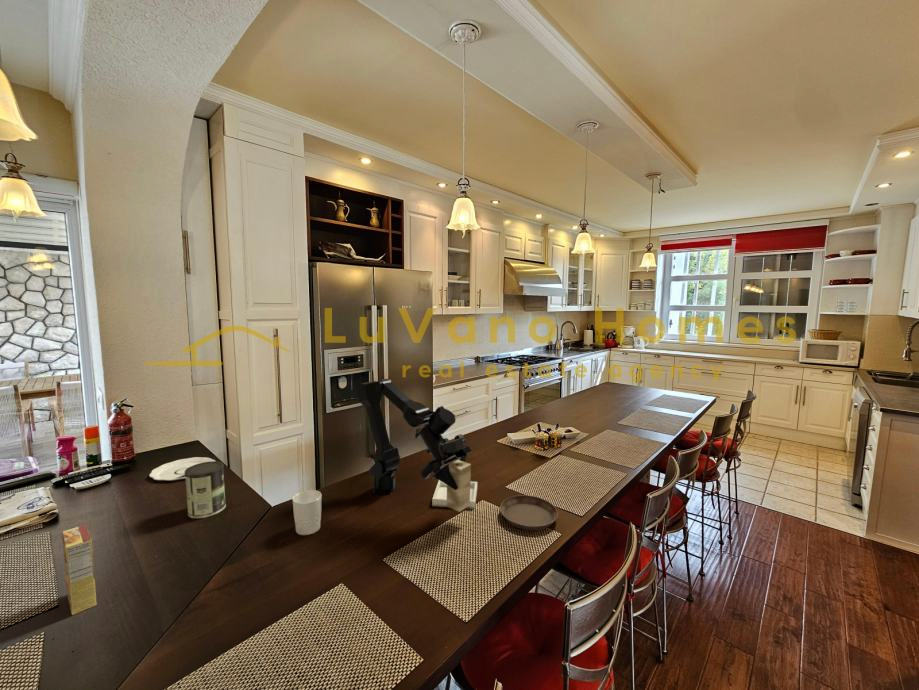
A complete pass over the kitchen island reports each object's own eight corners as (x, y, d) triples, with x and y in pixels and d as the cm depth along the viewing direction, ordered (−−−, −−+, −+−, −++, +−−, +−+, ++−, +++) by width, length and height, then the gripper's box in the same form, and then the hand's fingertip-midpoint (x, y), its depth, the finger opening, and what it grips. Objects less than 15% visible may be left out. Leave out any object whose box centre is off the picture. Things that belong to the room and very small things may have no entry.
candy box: (66, 595, 87) (60, 531, 85) (92, 585, 90) (86, 523, 88) (71, 616, 81) (64, 548, 80) (98, 604, 84) (92, 538, 83)
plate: (225, 468, 155) (225, 464, 155) (164, 489, 137) (164, 484, 137) (200, 457, 166) (200, 453, 166) (140, 474, 148) (140, 470, 148)
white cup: (328, 524, 116) (327, 492, 115) (310, 539, 109) (308, 505, 108) (306, 519, 119) (305, 488, 118) (287, 533, 111) (286, 500, 110)
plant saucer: (558, 538, 111) (559, 528, 110) (497, 530, 114) (497, 521, 114) (556, 507, 128) (556, 498, 127) (502, 501, 131) (502, 492, 131)
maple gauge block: (446, 506, 117) (447, 464, 115) (456, 500, 120) (458, 459, 119) (459, 512, 113) (460, 469, 112) (469, 505, 117) (471, 464, 116)
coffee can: (220, 498, 131) (217, 458, 129) (230, 509, 124) (227, 467, 122) (183, 510, 123) (180, 467, 122) (192, 522, 116) (189, 477, 115)
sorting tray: (432, 506, 127) (432, 498, 127) (438, 486, 141) (438, 479, 141) (474, 508, 126) (474, 501, 125) (477, 488, 139) (477, 481, 139)
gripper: (428, 436, 109) (458, 484, 104) (467, 420, 124) (495, 462, 119) (408, 455, 115) (436, 503, 110) (448, 438, 130) (474, 479, 124)
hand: (462, 485), depth 115 cm, fingers closed on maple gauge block, 5 cm apart
